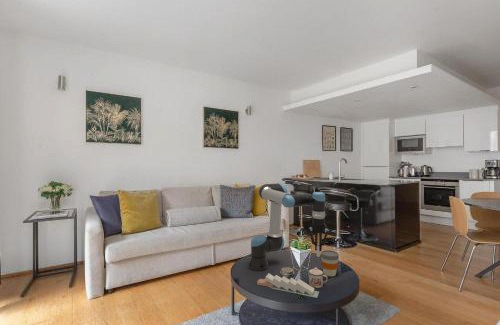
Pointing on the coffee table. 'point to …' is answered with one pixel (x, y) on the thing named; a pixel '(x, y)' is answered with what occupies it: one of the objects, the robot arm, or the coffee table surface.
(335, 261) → the reusable coffee cup
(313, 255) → the coffee table surface
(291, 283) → the domino
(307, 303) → the coffee table surface
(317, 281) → the teacup with lid
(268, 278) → the domino
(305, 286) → the domino
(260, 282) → the domino
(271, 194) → the robot arm
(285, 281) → the domino
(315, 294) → the strip
